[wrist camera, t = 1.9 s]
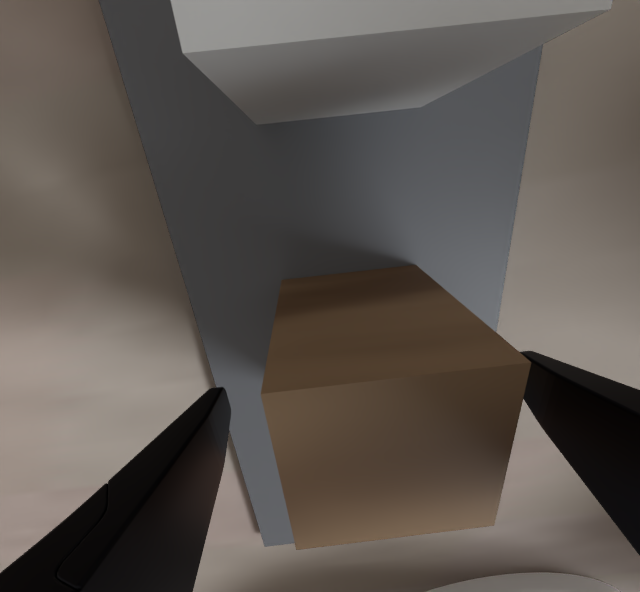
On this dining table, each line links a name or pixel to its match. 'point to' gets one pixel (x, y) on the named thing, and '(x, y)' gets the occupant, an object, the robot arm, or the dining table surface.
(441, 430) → the walnut block
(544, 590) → the plate stack
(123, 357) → the dining table surface
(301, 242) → the board
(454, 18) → the grey block
